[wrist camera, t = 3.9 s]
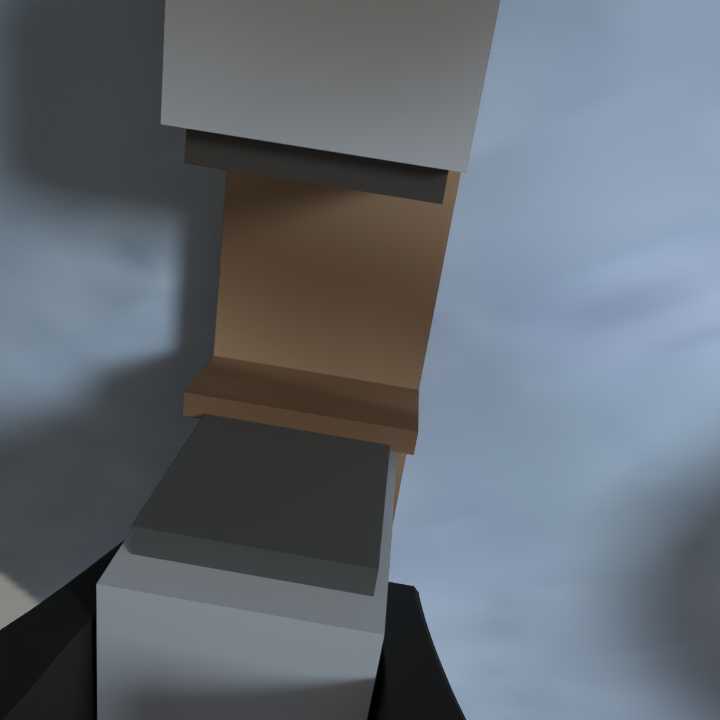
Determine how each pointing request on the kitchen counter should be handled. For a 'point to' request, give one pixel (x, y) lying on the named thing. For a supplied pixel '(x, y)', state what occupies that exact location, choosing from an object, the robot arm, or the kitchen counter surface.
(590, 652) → the kitchen counter surface
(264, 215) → the rail
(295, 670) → the block
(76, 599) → the robot arm
